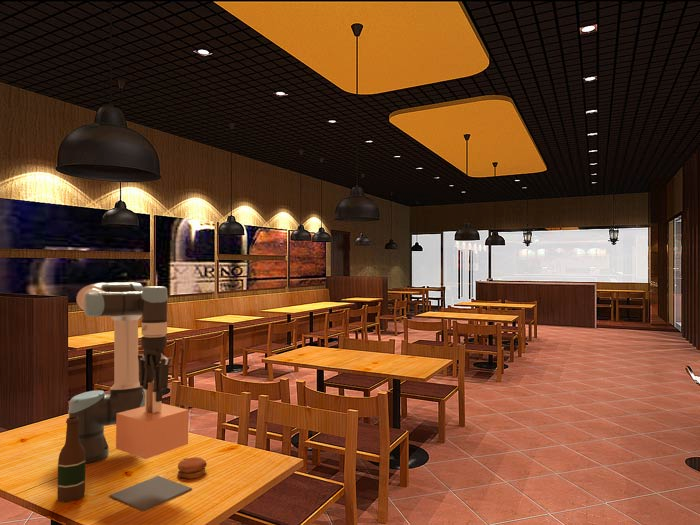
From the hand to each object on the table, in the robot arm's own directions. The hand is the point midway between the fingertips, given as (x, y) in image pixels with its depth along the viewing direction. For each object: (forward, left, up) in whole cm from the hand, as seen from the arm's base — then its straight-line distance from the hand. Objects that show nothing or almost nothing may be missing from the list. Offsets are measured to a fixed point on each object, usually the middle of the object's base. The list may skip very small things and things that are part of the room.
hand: (153, 410), depth 153 cm
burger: (-2, +16, -26) cm, 31 cm away
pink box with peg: (0, 0, -11) cm, 11 cm away
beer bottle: (-18, -15, -26) cm, 35 cm away
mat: (0, 0, -25) cm, 25 cm away
